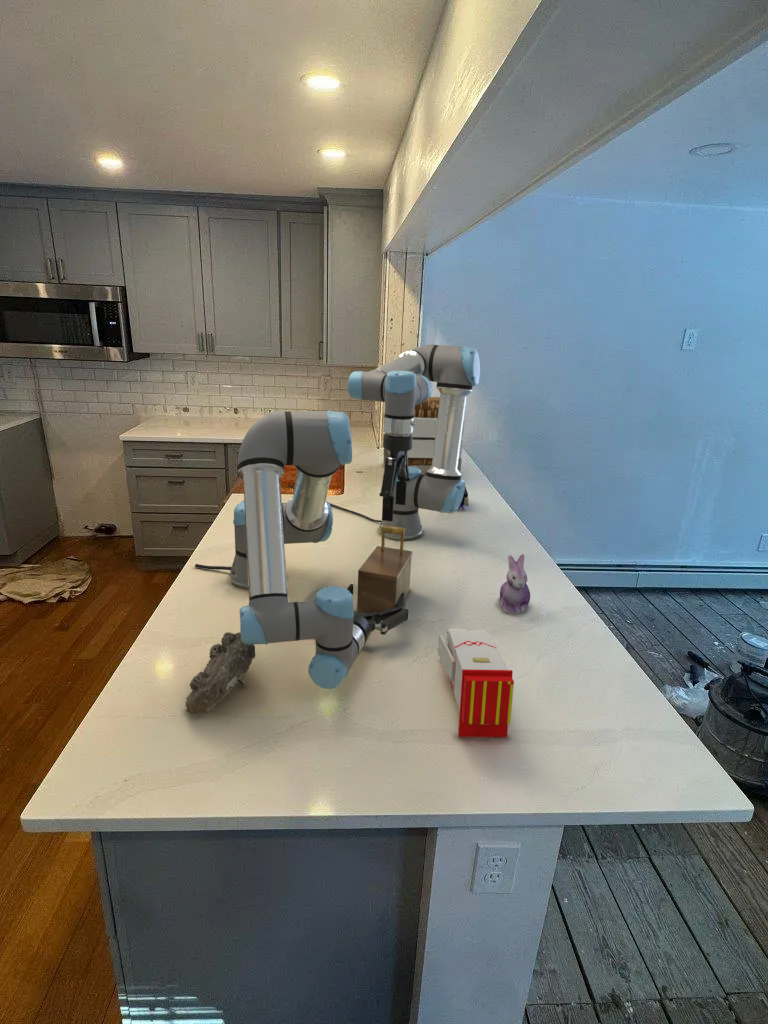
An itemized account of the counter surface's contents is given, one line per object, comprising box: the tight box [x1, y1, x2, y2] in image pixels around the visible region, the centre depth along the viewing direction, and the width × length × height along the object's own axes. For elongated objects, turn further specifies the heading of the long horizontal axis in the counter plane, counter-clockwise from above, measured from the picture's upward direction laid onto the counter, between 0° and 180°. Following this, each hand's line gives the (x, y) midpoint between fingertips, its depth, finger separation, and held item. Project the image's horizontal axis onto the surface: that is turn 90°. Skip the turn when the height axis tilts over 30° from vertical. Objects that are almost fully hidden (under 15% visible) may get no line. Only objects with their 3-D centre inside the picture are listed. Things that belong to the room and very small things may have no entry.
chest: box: [356, 557, 412, 613], centre depth 152 cm, size 16×10×10 cm, turn 164°
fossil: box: [185, 631, 256, 715], centre depth 116 cm, size 22×10×15 cm
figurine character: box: [459, 486, 470, 511], centre depth 230 cm, size 7×8×15 cm
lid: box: [357, 525, 413, 581], centre depth 150 cm, size 17×10×9 cm, turn 164°
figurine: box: [498, 553, 531, 615], centre depth 151 cm, size 9×10×15 cm
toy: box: [437, 628, 515, 738], centre depth 117 cm, size 12×13×30 cm
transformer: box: [383, 396, 465, 474], centre depth 268 cm, size 34×33×41 cm
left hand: (377, 593), depth 145 cm, fingers open, 13 cm apart
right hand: (394, 512), depth 152 cm, fingers open, 13 cm apart
